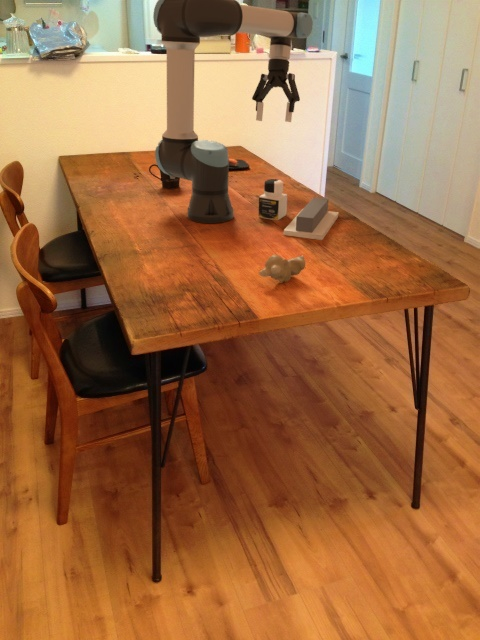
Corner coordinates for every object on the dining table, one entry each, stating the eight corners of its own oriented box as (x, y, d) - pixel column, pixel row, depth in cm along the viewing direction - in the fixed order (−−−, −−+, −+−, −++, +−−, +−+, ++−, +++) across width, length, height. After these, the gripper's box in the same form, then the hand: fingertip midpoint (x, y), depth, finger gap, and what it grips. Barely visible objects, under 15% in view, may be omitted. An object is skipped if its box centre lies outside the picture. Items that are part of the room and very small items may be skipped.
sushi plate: (184, 174, 245) (183, 165, 243) (171, 158, 270) (171, 149, 269) (251, 171, 252) (251, 162, 250) (233, 155, 278) (233, 147, 276)
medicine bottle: (258, 217, 195) (259, 181, 190) (267, 211, 201) (268, 176, 195) (277, 221, 192) (279, 184, 187) (286, 215, 198) (288, 179, 192)
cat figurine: (309, 255, 150) (278, 253, 141) (308, 283, 151) (278, 283, 142) (284, 255, 156) (253, 254, 147) (283, 282, 156) (253, 283, 148)
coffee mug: (184, 183, 230) (183, 157, 226) (179, 190, 223) (178, 163, 218) (154, 182, 231) (153, 156, 227) (149, 188, 224) (147, 162, 219)
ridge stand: (322, 240, 177) (323, 220, 174) (283, 234, 181) (284, 215, 178) (338, 216, 197) (339, 199, 194) (303, 212, 201) (304, 195, 198)
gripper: (313, 60, 210) (306, 123, 215) (258, 62, 225) (253, 121, 230) (301, 56, 204) (294, 121, 210) (246, 58, 219) (241, 119, 225)
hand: (273, 121), depth 220 cm, fingers open, 13 cm apart
